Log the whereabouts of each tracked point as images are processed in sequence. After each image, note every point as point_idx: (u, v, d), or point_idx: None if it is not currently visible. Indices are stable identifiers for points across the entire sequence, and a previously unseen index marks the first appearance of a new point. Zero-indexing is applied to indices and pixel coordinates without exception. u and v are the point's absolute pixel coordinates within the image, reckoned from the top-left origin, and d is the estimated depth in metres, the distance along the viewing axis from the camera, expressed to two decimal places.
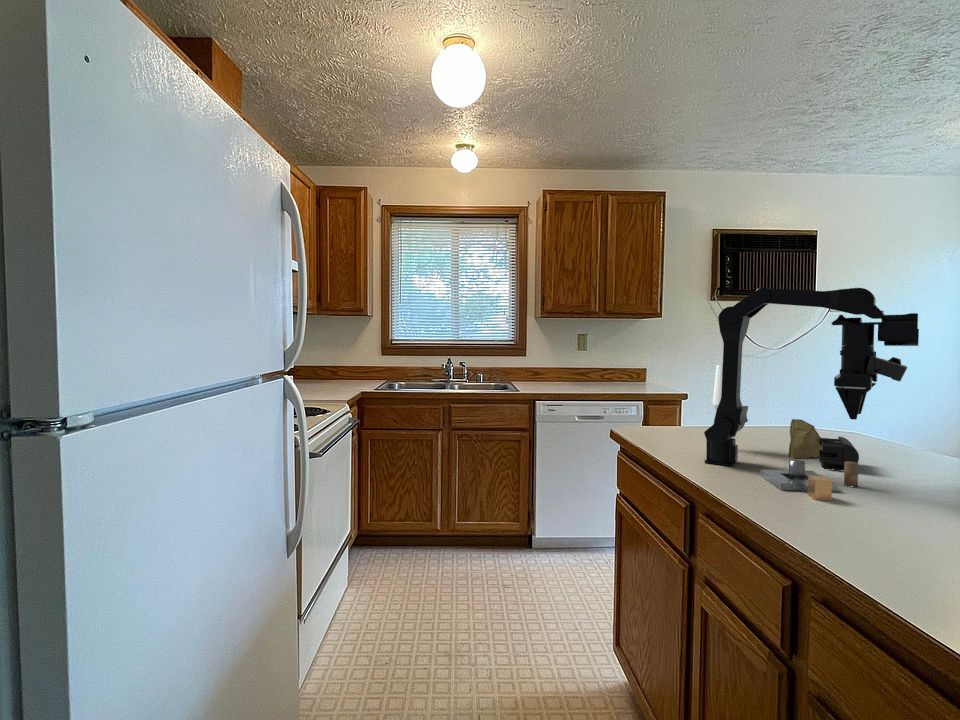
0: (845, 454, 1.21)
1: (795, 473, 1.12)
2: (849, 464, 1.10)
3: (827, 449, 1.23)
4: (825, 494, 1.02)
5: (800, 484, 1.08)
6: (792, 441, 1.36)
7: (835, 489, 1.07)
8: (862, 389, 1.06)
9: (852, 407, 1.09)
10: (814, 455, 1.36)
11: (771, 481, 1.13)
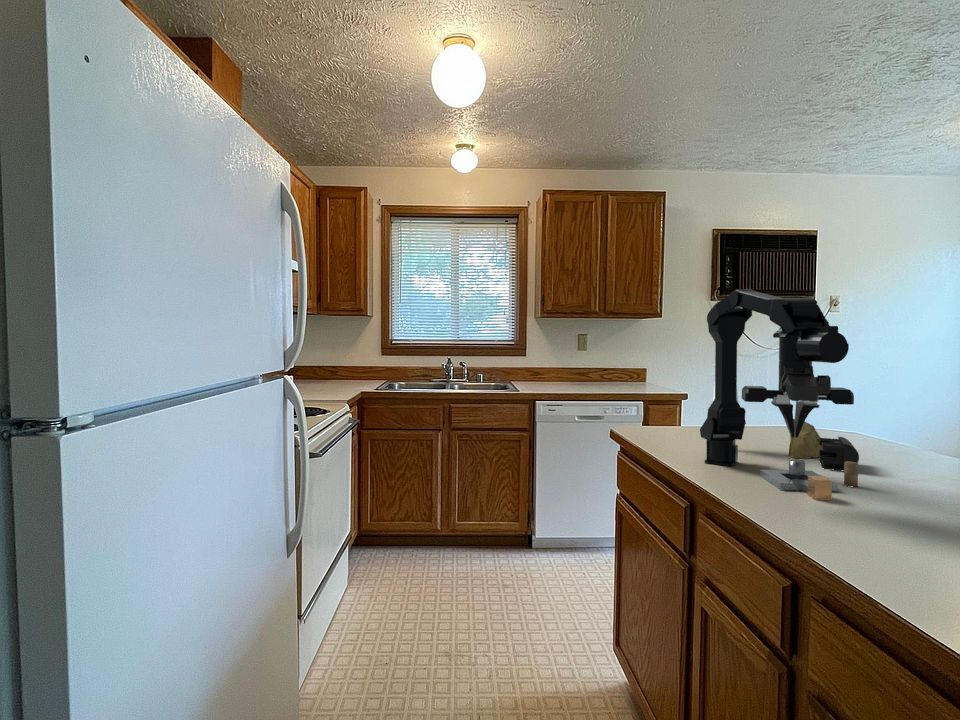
0: (845, 454, 1.21)
1: (795, 473, 1.12)
2: (849, 464, 1.10)
3: (827, 449, 1.23)
4: (825, 494, 1.02)
5: (800, 484, 1.08)
6: (792, 441, 1.36)
7: (835, 489, 1.07)
8: (775, 404, 1.04)
9: (787, 423, 1.05)
10: (814, 455, 1.36)
11: (771, 481, 1.13)
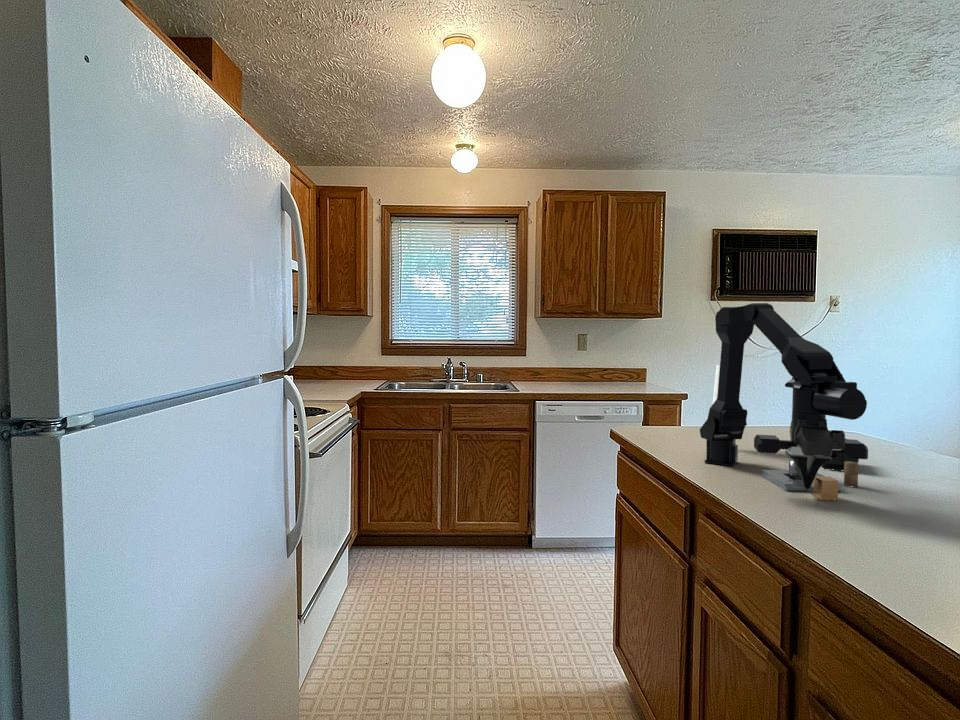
0: None
1: (795, 473, 1.12)
2: (849, 464, 1.10)
3: None
4: (831, 494, 1.01)
5: None
6: None
7: (839, 489, 1.07)
8: (789, 455, 1.03)
9: (800, 474, 1.04)
10: None
11: (775, 482, 1.13)
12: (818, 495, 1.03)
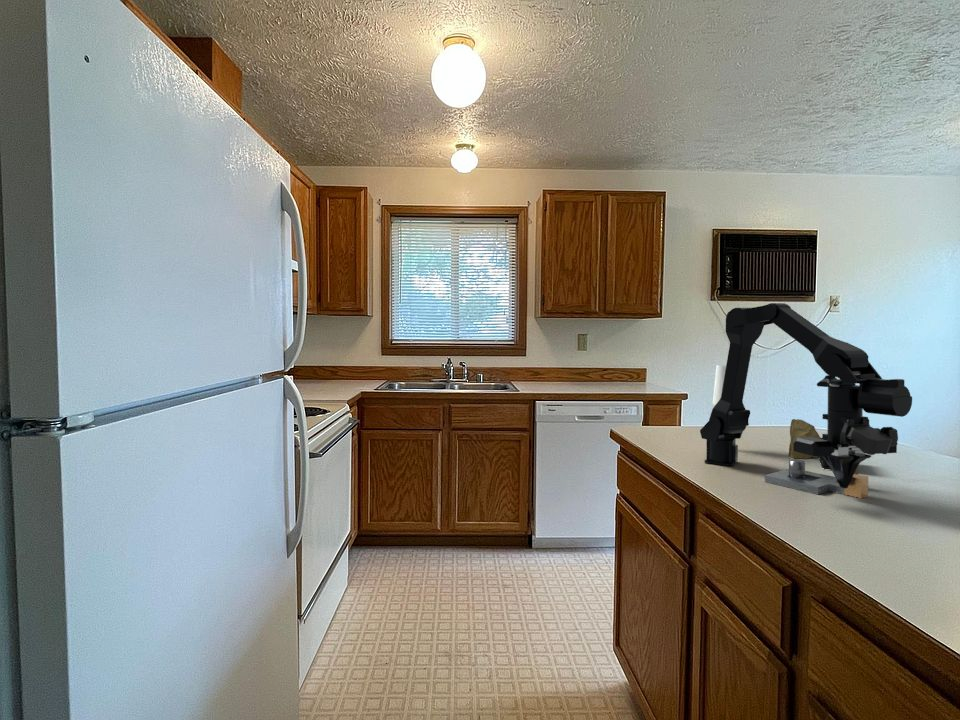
0: None
1: (795, 473, 1.12)
2: None
3: None
4: (865, 491, 1.03)
5: (827, 485, 1.07)
6: (792, 441, 1.36)
7: None
8: (836, 456, 1.01)
9: (838, 474, 1.03)
10: None
11: (794, 486, 1.09)
12: (854, 494, 1.03)
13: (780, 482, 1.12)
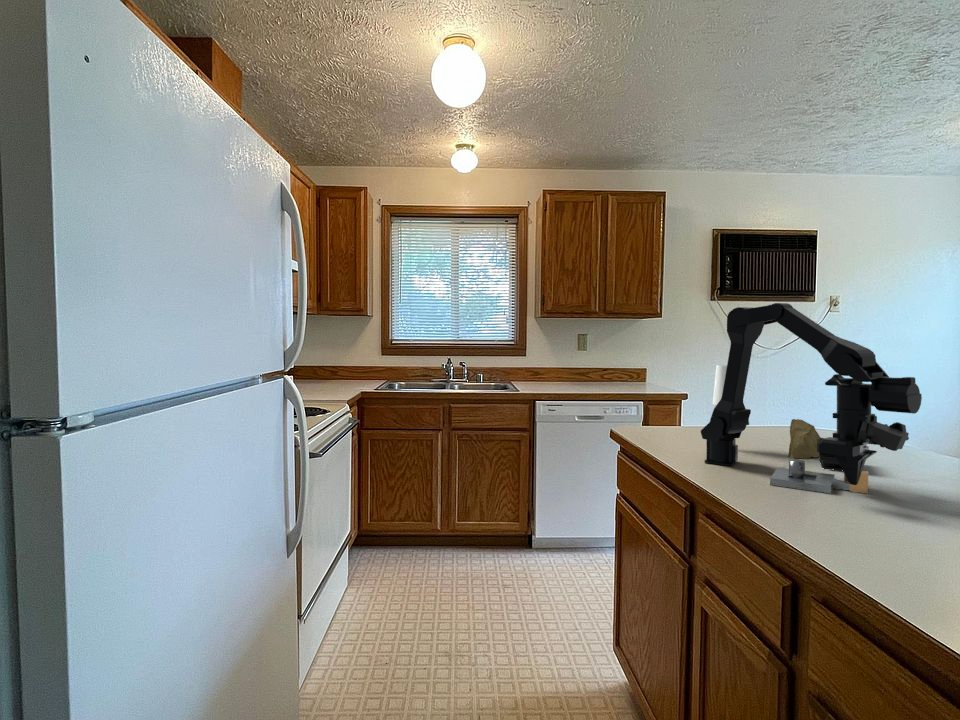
0: None
1: (795, 473, 1.12)
2: None
3: None
4: None
5: (832, 482, 1.09)
6: (792, 441, 1.36)
7: None
8: None
9: (850, 472, 1.05)
10: (814, 455, 1.36)
11: (804, 487, 1.08)
12: (860, 490, 1.06)
13: (788, 484, 1.10)
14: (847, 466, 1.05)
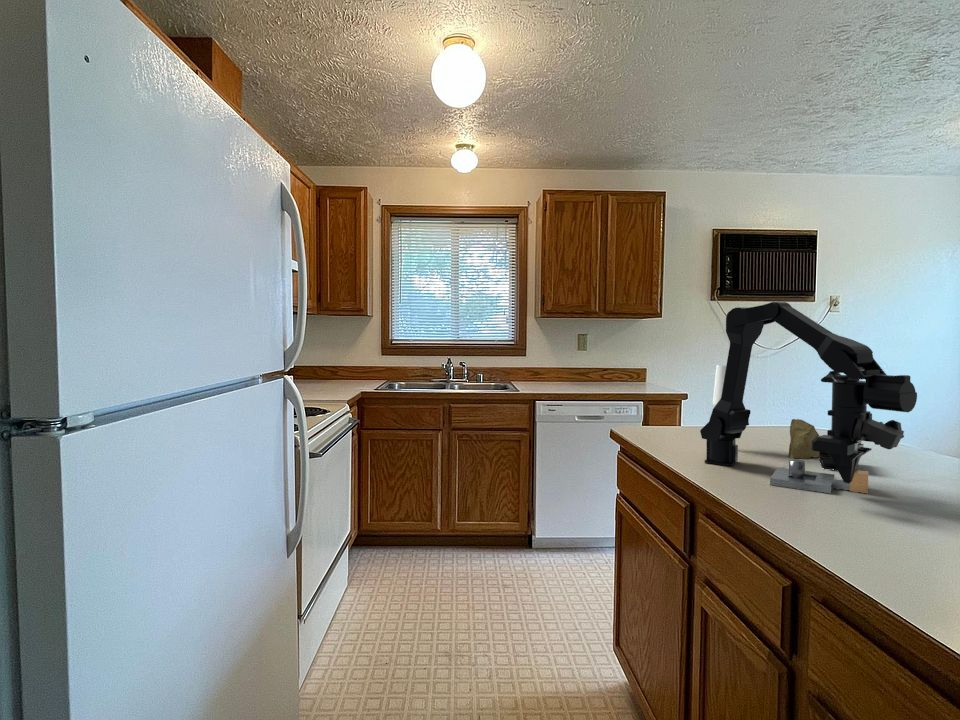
0: None
1: (795, 473, 1.12)
2: None
3: None
4: None
5: (832, 482, 1.09)
6: (792, 441, 1.36)
7: None
8: None
9: (844, 470, 1.04)
10: (814, 455, 1.36)
11: (804, 487, 1.08)
12: (860, 490, 1.06)
13: (788, 484, 1.10)
14: (841, 464, 1.04)
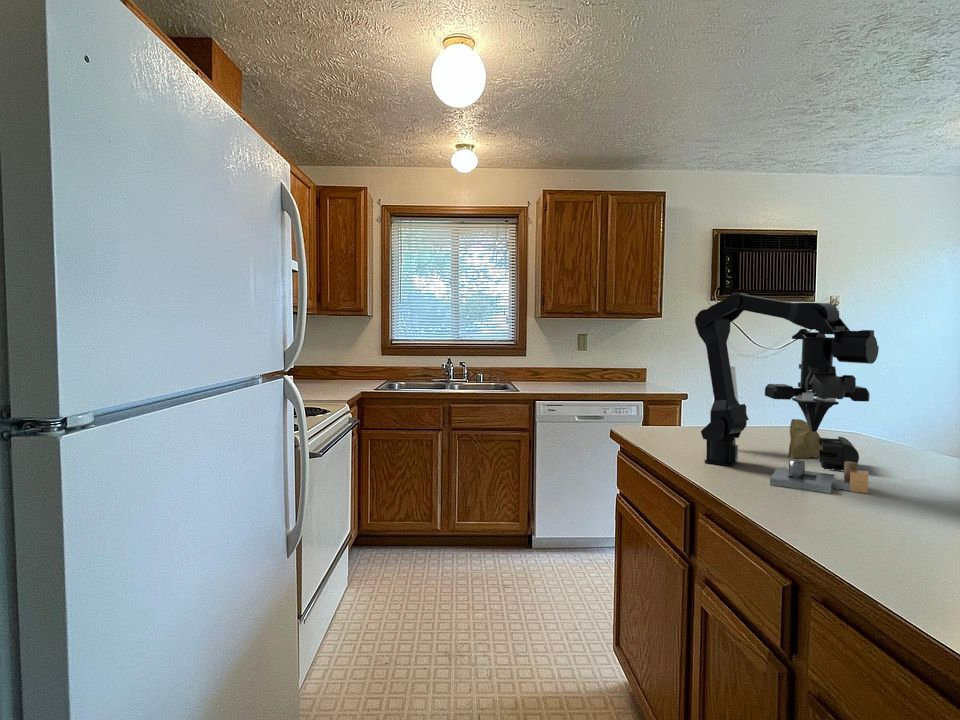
0: (845, 454, 1.21)
1: (795, 473, 1.12)
2: (849, 464, 1.10)
3: (827, 449, 1.23)
4: None
5: (832, 482, 1.09)
6: (792, 441, 1.36)
7: None
8: (800, 401, 1.11)
9: (807, 419, 1.13)
10: (814, 455, 1.36)
11: (804, 487, 1.08)
12: (860, 490, 1.06)
13: (788, 484, 1.10)
14: (806, 413, 1.14)
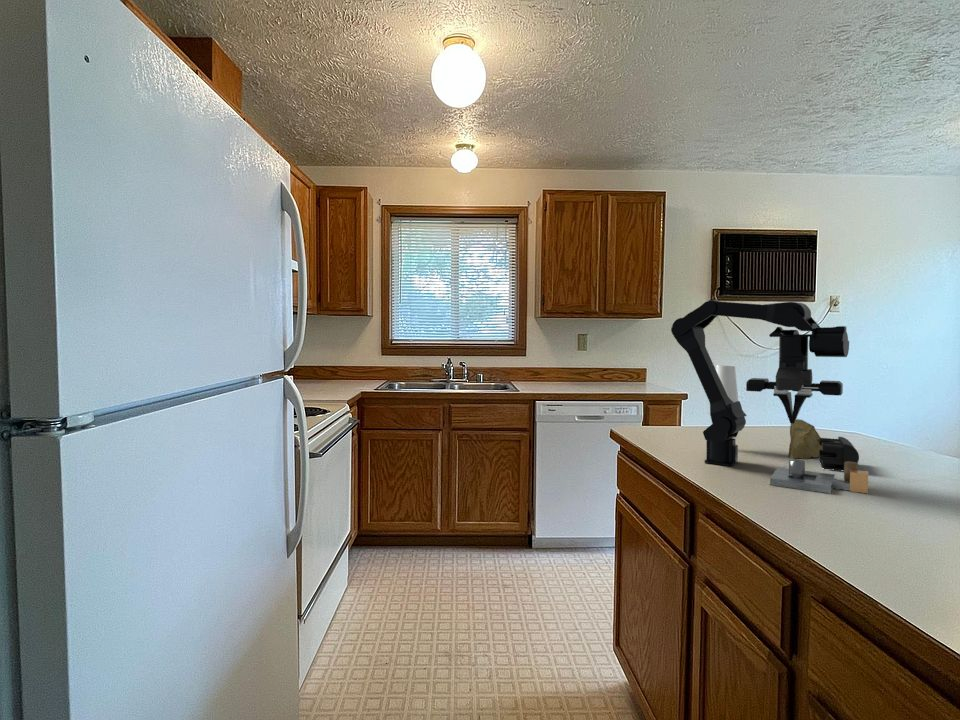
0: (845, 454, 1.21)
1: (795, 473, 1.12)
2: (849, 464, 1.10)
3: (827, 449, 1.23)
4: None
5: (832, 482, 1.09)
6: (792, 441, 1.36)
7: None
8: None
9: None
10: (814, 455, 1.36)
11: (804, 487, 1.08)
12: (860, 490, 1.06)
13: (788, 484, 1.10)
14: None
